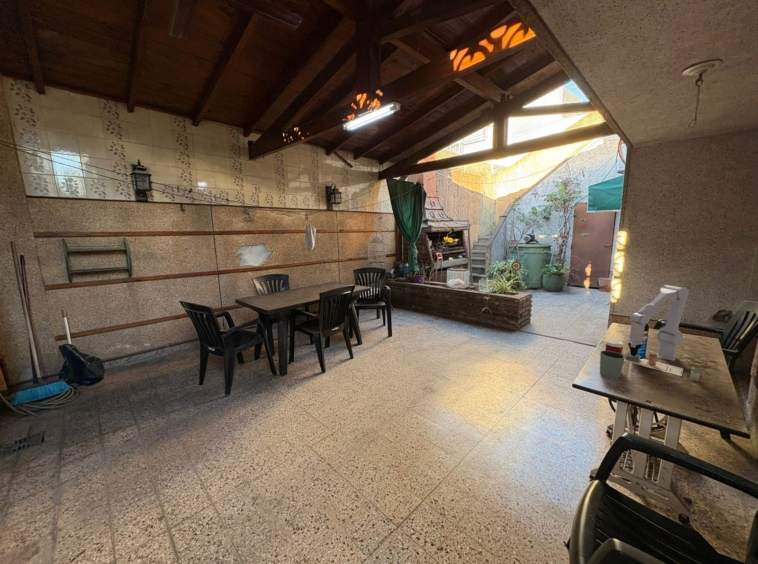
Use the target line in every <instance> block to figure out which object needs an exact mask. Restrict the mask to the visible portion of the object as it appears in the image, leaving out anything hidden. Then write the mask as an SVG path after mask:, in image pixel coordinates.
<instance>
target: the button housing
mask: <svg viewBox="0 0 758 564" xmlns="http://www.w3.org/2000/svg"><path fill="white" fill-rule="evenodd" d="M629 354H630V352H627V353H626V355H624V356H625V359H626V360H630V361H634V362H637V363H639V361H640V358H642V356H641V355H639V354H636V355H637V358H636V357H631V356H629Z"/></svg>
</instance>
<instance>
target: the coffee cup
mask: <svg viewBox="0 0 758 564" xmlns="http://www.w3.org/2000/svg"><path fill="white" fill-rule="evenodd" d="M624 347H625V345H624V343H623V342H622V341H620V340H618V339H617V340H616V339H606V340H605V350H606V351H614V352H618V353H620V354H622V353H623V349H624ZM605 350H604V351H605ZM622 355H623V354H622Z"/></svg>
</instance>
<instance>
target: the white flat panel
mask: <svg viewBox="0 0 758 564" xmlns="http://www.w3.org/2000/svg"><path fill="white" fill-rule="evenodd" d="M648 360H649V359H646V358H643V359H640V361H639V363H637V362H634V361H630V360H626V359H624V362H627V363H631V364H634V365H639V366H641V367H642V366H643V367H646V368H650V369H653V370H657V371H662V372H665V373H669V374H672V375H677V376H679V377H680V378H681V377H682V376H683V371H684V368H683V367H679V366H675V365H671V364H667V363H663V362H659V361H656V366H652V365H649V364H648Z"/></svg>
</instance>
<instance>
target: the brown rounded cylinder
mask: <svg viewBox="0 0 758 564" xmlns="http://www.w3.org/2000/svg"><path fill="white" fill-rule="evenodd" d="M647 360H648V364H649V365H652V366H656V362H657V360H658V356H657V353H651V352H650V353H649V356H648V359H647Z"/></svg>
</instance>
